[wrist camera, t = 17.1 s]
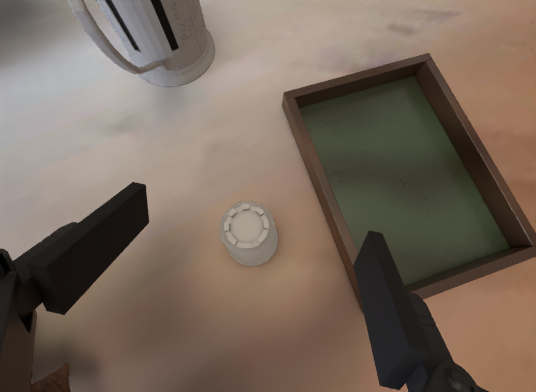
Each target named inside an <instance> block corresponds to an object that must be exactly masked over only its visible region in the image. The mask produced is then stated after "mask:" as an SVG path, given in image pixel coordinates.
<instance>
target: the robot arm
mask: <svg viewBox="0 0 536 392" xmlns="http://www.w3.org/2000/svg"><path fill="white" fill-rule="evenodd" d="M148 223H149V216H148V205H147V195H146V185H144V184H140V183H135V182H132V183H131V184H130V185H128V186H127V187H126V188H124V189H123V190H122V191H120V192H119V193H118V194H116V195H115V196H114V197H112V198H111V199H110V200H108V201H107V202H106V203H104V204H103V205H102V206H101V207H99V208H98V209H97V210H95V211H94V212H93V213H91V214H90V215H89V216H87V217H86V218H85V219H83V220H82V221H81V222H79V223H76V222H72V223H70V224H67V225H65V226H63V227H60V228H59V229H58V230H56V231H55V232H53V233H52V234H51V235H50V236H48V237H46V238H45V239H44V240H42V242H39V243H38V244H37V245H35V246H34V247H32V248H31V249H30V250H28V251H27V252H25V253H24V254H23V255H21V256H20V257H18V258H17V259H16V260H14V261H13V262H12V259H11V257H10V255H9V253H8V251H6V250H4V249H0V392H29V390H30V380H31V370H32V359H33V349H34V339H35V328H36V318H37V313H36V310H35V309H36V308H37V307H38V306H39V305H40V304H41V303H42V302H43V304H44V306H45V308H46V311H49V312H53V313H58V314H62V315H65V314H66V312H67V311H68V310H69V309H70V308H71V307H72V306H73V305H74V304H75V303H76V302H77V301H78V299H79V298H80V297H81V296H82V295H83V294H84V293H85V292H86V291H87V290H88V289H89V287H90V286H91V285H92V284H93V283H94V282H95V281H96V280H97V279H98V278H99V277H100V275H101V274H102V273H103V272H104V271H105V270H106V269H107V268H108V267H109V266H110V265H111V263H112V262H113V261H114V260H115V259H116V258H117V257H118V256H119V255H120V254H121V253H122V252H123V250H124V249H125V248H126V247H127V246H128V245H129V244H130V243H131V242H132V241H133V240H134V238H135V237H136V236H137V235H138V234H139V233H140V232H141V231H142V230H143V229H144V228H145V226H146V225H147V224H148ZM353 267H354V271H355V276H356V280H357V285H358V289H359V294H360V298H361V303H362V307H363V312H364V316H365V321H366V325H367V330H368V334H369V339H370V343H371V348H372V352H373V357H374V361H375V366H376V370H377V375H378V379H379V384H380V386H383V387H388V388H392V389H397V390H400V389H401V387H402V386H403V385H404V384H405V383H406V385H407V388H408V392H488V391H486V390H484V389H482V388H481V387H479V386H477V385H476V383H475V381H474V380H473V379H472V377H471V376H470V374H468V373H467V372H466V371H465V370H464V369H463V368H462V367H461V366H459V365H457V364H456V363H454V361H453V359H452V357H451V355H450V353H449V351H448V349H447V347H446V345H445V342H444V340H443V338H442V336H441V334H440V332H439V330H438V328H437V327H436V324H435V321H434V319H433V318H432V317H431V316H432V315H431V313H430V311H429V309H428V307H427V305H426V303H425V302H424V301H423V300H422V299H421V298H420V296H419V295H418V294H415V293H410V292H407V290H406V288H405V286H404V283H403V281H402V279H401V276H400V274H399V271H398V269H397V267H396V264H395V262H394V260H393V257H392V255H391V253H390V250H389V248H388V245H387V243H386V241H385V238H384V236H383V234H382V233H379V232H374V231H370V230H369V231H368V233H367V236H366V238H365V240H364V242H363V245H362V247H361V249H360V251H359V253H358V256H357V258H356V260H355V262H354V264H353Z"/></svg>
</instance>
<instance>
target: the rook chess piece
mask: <svg viewBox="0 0 536 392" xmlns="http://www.w3.org/2000/svg"><path fill="white" fill-rule="evenodd" d="M220 236H221V238H222V241H223V243H224V245H225V246H226V248H227V250H228V253H229V255H230V256H231V257H232V258H233V259H234V260H235V261H236V262H237V263H240V264H242V265H245V266H259V265H261V264H263V263H265V262H267V261H269V259H270V258H271V257H272V256H273V255H274V254H275V252H276V249H277V246H278V243H279V242H278V231H277V229H276V227H275V223H274V219H273V217H272V215H271V213H270V211H268V210H267V209H266V208H265V207H264V206H263V205H261V204H259V203H256V202H253V201H245V202H239V203H237V204H235V205H233V206H231V207H230V208H229V209H228V210H227V211H226V212H225V213H224V215H223V218H222V220H221V223H220Z"/></svg>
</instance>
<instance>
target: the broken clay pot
mask: <svg viewBox="0 0 536 392" xmlns="http://www.w3.org/2000/svg"><path fill="white" fill-rule="evenodd" d="M31 377H32V370H31ZM68 377H69V365H68V363H65V364H64V365H63V366H62V367H61V368H60V369H58V370H57V371H56V372H54V373H52V374H50V375H48V376H47V377H45V378H43V379H41V380H40V381H38V382H36V383H34V384H31V383H30V390H29V392H71V391H70V387H69V379H68ZM30 382H31V380H30Z"/></svg>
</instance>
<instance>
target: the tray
mask: <svg viewBox="0 0 536 392" xmlns="http://www.w3.org/2000/svg"><path fill="white" fill-rule="evenodd" d="M414 75H415V76H414ZM407 77H408V78H407ZM400 79H401V80H400ZM382 84H383V85H382ZM419 85H420V86H419ZM375 86H376V87H375ZM368 88H369V89H368ZM357 91H358V92H357ZM350 93H351V94H350ZM424 94H425V95H424ZM343 95H344V96H343ZM336 97H337V98H336ZM325 100H326V101H325ZM318 102H319V103H318ZM311 104H312V105H311ZM282 106H283V109H284V111H285V114H286V117H287V119H288V122H289V124H290V127H291V129H292V132H293V135H294V137H295V140H296V142H297V145H298V147H299V150H300V152H301V155H302V158H303V160H304V163H305V165H306V168H307V170H308V173H309V175H310V178H311V181H312V183H313V186H314V188H315V191H316V193H317V196H318V199H319V201H320V204H321V206H322V209H323V211H324V214H325V216H326V219H327V222H328V224H329V227H330V229H331V232H332V234H333V237H334V239H335V242H336V245H337V247H338V250H339V252H340V255H341V257H342V260H343V262H344V265H345V268H346V270H347V273H348V275H349V278H350V280H351V283H352V286H353V288H354V291H355V293H356V296H357V298H358V301H359V303H360V306H361V308H362V311H363V307H362V303H361V298H360V294H359V289H358V285H357V280H356V276H355V271H354V267H353V264H354V262H355V260H356V258H357V256H358V253H359V251H360V249H361V247H362V245H363V242H364V240H365V238H366V236H367V233H368V231H369V230H370V231H374V232H379V233H382V234H383V236H384V238H385V241H386V243H387V245H388V248H389V250H390V253H391V255H392V257H393V260H394V262H395V264H396V267H397V269H398V271H399V274H400V276H401V279H402V281H403V283H404V286H405V288H406V290H407V292H410V293H415V294H418V295H419V296H420V298H421V299H422V300H423V299H425V298H428V297H431V296H433V295H436V294H438V293H441V292H444V291H446V290H449V289H452V288H454V287H457V286H460V285H462V284H465V283H468V282H470V281H473V280H475V279H478V278H481V277H483V276H486V275H489V274H491V273H494V272H497V271H499V270H502V269H505V268H507V267H510V266H513V265H515V264H518V263H520V262H523V261H526V260H528V259H531V258H534V257H536V233H535V231H534V229H533V228H532V226H531V224H530V223H529V221H528V219H527V218H526V216H525V214H524V213H523V211H522V209H521V208H520V206H519V204H518V202H517V201H516V199H515V197H514V196H513V194H512V192H511V191H510V189H509V187H508V186H507V184H506V182H505V181H504V179H503V177H502V175H501V174H500V172H499V170H498V169H497V167H496V165H495V164H494V162H493V160H492V159H491V157H490V155H489V154H488V152H487V150H486V148H485V147H484V145H483V143H482V142H481V140H480V138H479V137H478V135H477V133H476V132H475V130H474V128H473V127H472V125H471V123H470V121H469V120H468V118H467V116H466V115H465V113H464V111H463V110H462V108H461V106H460V105H459V103H458V101H457V100H456V98H455V96H454V94H453V93H452V91H451V89H450V88H449V86H448V84H447V83H446V81H445V79H444V78H443V76H442V74H441V72H440V71H439V69H438V67H437V66H436V64H435V62H434V61H433V60H432V57H431V56H430V54H429V53H427V54H423V55H420V56H416V57H412V58H409V59H405V60H401V61H398V62H394V63H390V64H387V65H383V66H379V67H376V68H372V69H368V70H365V71H361V72H357V73H354V74H350V75H346V76H343V77H339V78H335V79H332V80H328V81H324V82H321V83H317V84H313V85H310V86H306V87H302V88H299V89H295V90H291V91H288V92H284V95H283V103H282ZM300 107H301V108H300ZM438 119H439V120H438ZM452 144H453V145H452ZM457 153H458V154H457ZM471 178H472V179H471ZM476 187H477V188H476ZM485 203H486V204H485ZM490 212H491V213H490ZM504 237H505V238H504ZM509 246H510V247H511V248H510V247H509ZM505 249H506V250H505ZM502 250H503V251H502ZM494 253H495V254H494ZM491 254H492V255H491ZM486 256H487V257H486ZM483 257H484V258H483ZM478 259H479V260H478ZM475 260H476V261H475ZM472 261H473V262H472ZM467 263H468V264H467ZM464 264H465V265H464ZM459 266H460V267H459ZM456 267H457V268H456ZM448 270H449V271H448ZM445 271H446V272H445ZM440 273H441V274H440ZM437 274H438V275H437ZM432 276H433V277H432ZM429 277H430V278H429ZM426 278H427V279H426ZM421 280H422V281H421ZM418 281H419V282H418ZM413 283H414V284H413ZM410 284H411V285H410ZM363 313H364V312H363Z"/></svg>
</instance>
